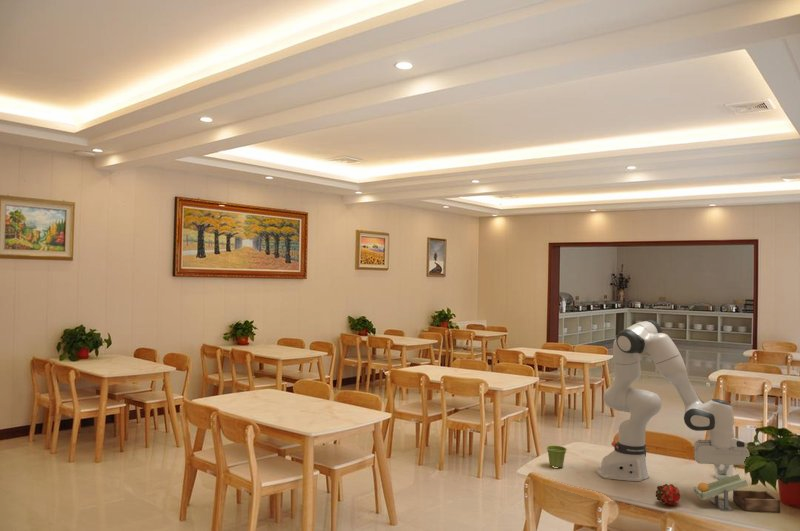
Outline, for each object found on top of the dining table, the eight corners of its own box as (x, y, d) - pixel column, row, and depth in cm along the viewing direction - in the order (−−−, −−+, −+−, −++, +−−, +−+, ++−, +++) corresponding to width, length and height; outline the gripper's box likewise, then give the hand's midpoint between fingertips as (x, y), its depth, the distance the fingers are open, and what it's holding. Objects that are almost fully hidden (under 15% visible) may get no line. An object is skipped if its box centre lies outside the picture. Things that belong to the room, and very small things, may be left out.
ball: (701, 495, 238) (699, 485, 238) (697, 491, 242) (695, 481, 242) (711, 494, 238) (710, 484, 238) (707, 490, 242) (705, 480, 242)
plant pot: (569, 465, 289) (569, 447, 290) (563, 471, 281) (563, 452, 282) (550, 462, 294) (550, 444, 295) (543, 467, 286) (543, 449, 287)
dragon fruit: (657, 511, 237) (673, 509, 245) (675, 503, 233) (691, 501, 240) (647, 489, 242) (663, 487, 249) (664, 481, 237) (680, 479, 244)
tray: (745, 511, 234) (745, 499, 234) (733, 501, 244) (733, 490, 244) (780, 512, 233) (780, 500, 233) (766, 502, 243) (766, 491, 243)
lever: (702, 500, 237) (700, 493, 237) (689, 488, 250) (686, 481, 250) (748, 485, 236) (745, 478, 236) (732, 474, 249) (729, 467, 249)
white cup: (736, 481, 268) (736, 458, 269) (716, 480, 270) (716, 457, 270) (730, 475, 276) (730, 453, 276) (711, 474, 278) (711, 452, 278)
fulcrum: (721, 510, 234) (721, 491, 235) (709, 500, 245) (709, 482, 245) (733, 510, 234) (733, 491, 234) (721, 500, 244) (721, 482, 245)
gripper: (697, 441, 244) (697, 476, 244) (751, 443, 241) (752, 478, 241) (691, 437, 250) (692, 471, 250) (744, 439, 248) (745, 473, 247)
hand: (721, 475), depth 246 cm, fingers closed
